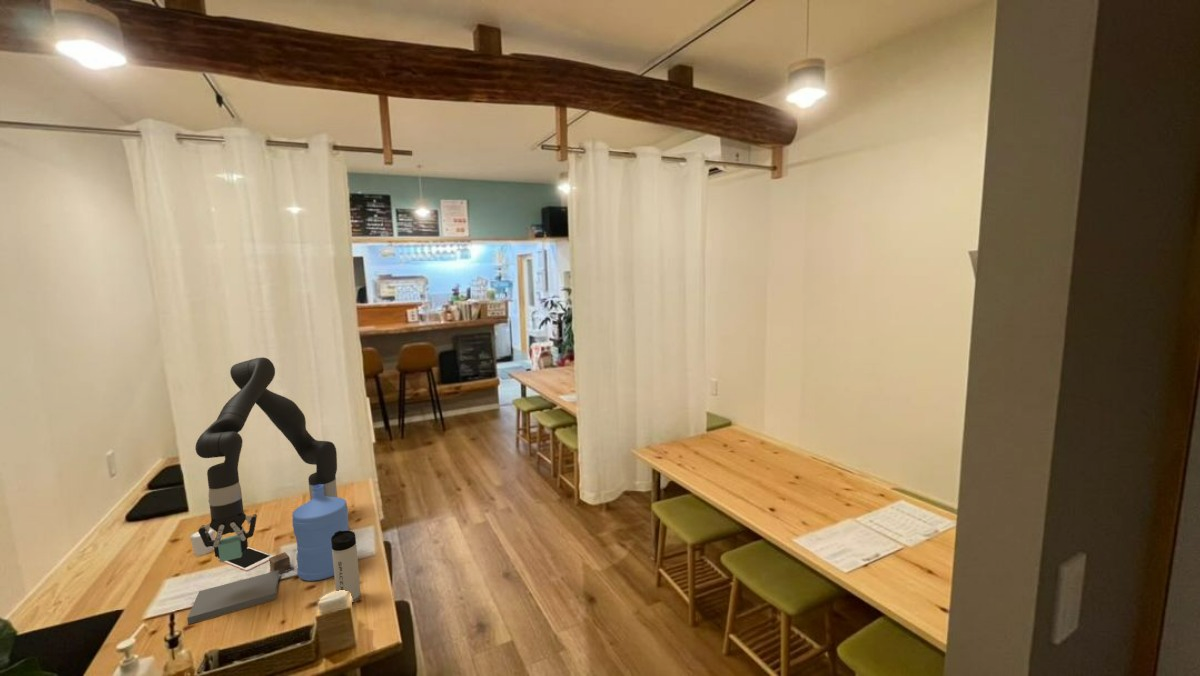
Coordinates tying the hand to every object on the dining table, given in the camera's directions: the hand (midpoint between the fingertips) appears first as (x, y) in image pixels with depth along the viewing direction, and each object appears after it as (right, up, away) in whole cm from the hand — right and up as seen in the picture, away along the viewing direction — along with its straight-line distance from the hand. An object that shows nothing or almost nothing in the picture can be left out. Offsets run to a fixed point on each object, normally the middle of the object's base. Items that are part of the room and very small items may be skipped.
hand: (232, 554), depth 141 cm
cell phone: (-13, -13, +23) cm, 30 cm away
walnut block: (+4, -12, +16) cm, 21 cm away
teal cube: (0, 0, 0) cm, 0 cm away
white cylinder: (-33, -13, +30) cm, 46 cm away
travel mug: (+35, -13, -1) cm, 37 cm away
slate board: (+1, -14, +1) cm, 14 cm away
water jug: (+19, -12, +16) cm, 27 cm away
